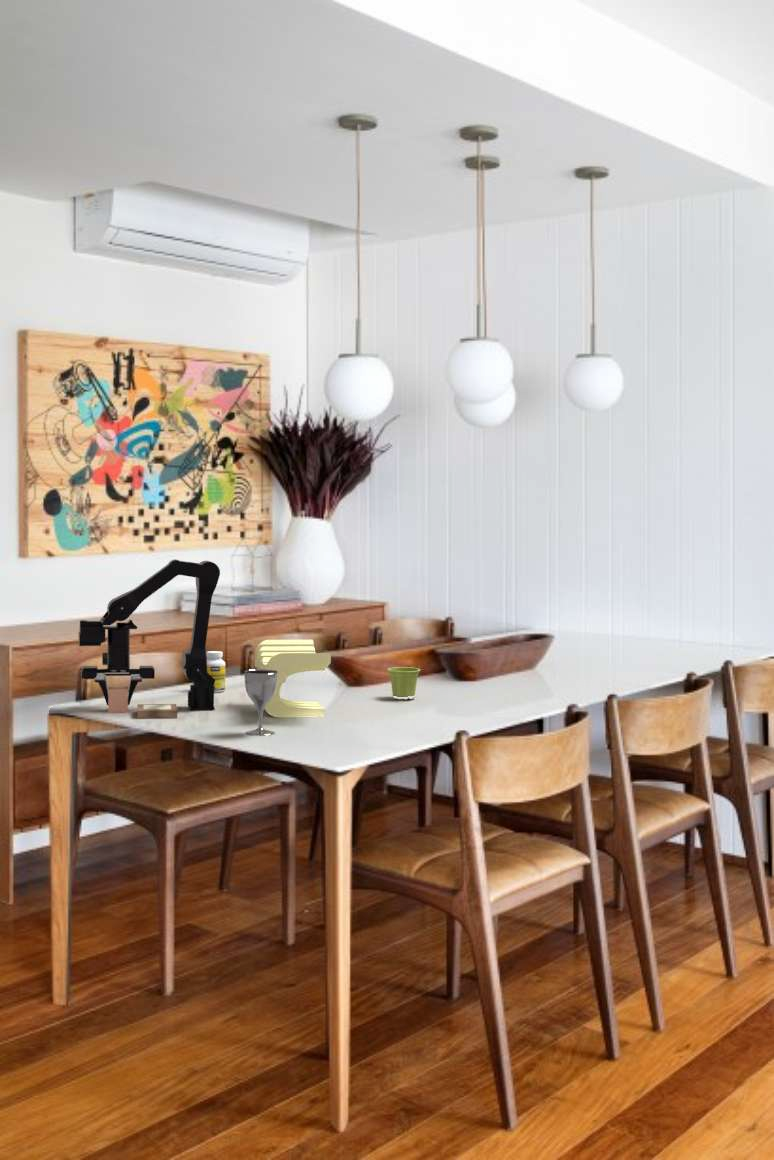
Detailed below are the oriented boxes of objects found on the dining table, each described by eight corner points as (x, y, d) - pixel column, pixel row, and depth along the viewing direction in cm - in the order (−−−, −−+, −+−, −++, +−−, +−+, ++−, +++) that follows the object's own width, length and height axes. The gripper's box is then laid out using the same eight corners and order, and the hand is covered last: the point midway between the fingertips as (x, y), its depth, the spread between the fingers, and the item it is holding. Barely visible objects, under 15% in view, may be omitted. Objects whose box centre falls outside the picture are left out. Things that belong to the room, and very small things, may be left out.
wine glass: (277, 730, 318) (278, 669, 317) (275, 736, 310) (276, 673, 309) (245, 729, 318) (245, 668, 317) (242, 735, 310) (243, 673, 309)
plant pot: (383, 700, 368) (384, 670, 367) (391, 695, 377) (392, 666, 376) (415, 702, 366) (416, 672, 365) (422, 697, 375) (423, 667, 374)
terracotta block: (127, 709, 344) (128, 686, 344) (127, 712, 339) (127, 689, 339) (108, 709, 343) (108, 686, 343) (108, 712, 338) (108, 689, 338)
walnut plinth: (175, 711, 342) (176, 703, 342) (177, 718, 332) (177, 709, 332) (137, 711, 340) (137, 703, 340) (137, 718, 330) (137, 710, 330)
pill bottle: (204, 693, 374) (204, 653, 373) (201, 690, 380) (201, 650, 379) (226, 693, 376) (227, 653, 375) (223, 689, 382) (223, 650, 381)
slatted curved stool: (254, 704, 357) (255, 639, 356) (311, 703, 360) (312, 639, 359) (267, 723, 328) (268, 653, 327) (329, 722, 331) (330, 652, 330)
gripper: (154, 642, 350) (153, 699, 351) (83, 642, 346) (83, 700, 347) (154, 647, 339) (154, 706, 340) (81, 647, 335) (81, 707, 336)
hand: (118, 704), depth 341 cm, fingers closed on terracotta block, 5 cm apart
